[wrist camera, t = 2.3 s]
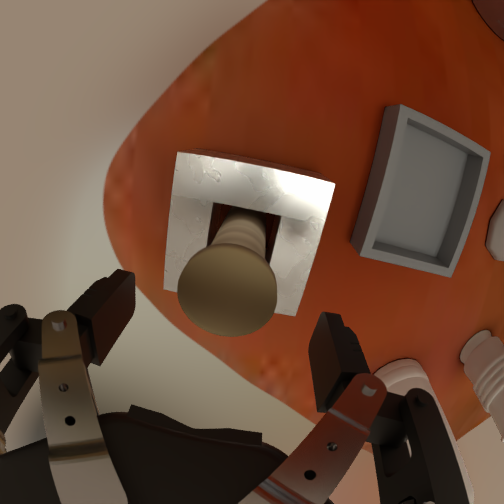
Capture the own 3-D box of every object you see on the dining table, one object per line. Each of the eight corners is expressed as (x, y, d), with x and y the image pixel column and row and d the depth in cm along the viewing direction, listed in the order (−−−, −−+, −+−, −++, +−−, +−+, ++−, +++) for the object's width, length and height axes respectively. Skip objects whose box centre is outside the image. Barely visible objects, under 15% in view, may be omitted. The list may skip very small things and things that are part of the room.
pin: (224, 187, 22) (181, 240, 11) (279, 199, 22) (288, 262, 11) (216, 238, 24) (174, 325, 13) (267, 249, 24) (264, 343, 13)
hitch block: (196, 148, 21) (177, 151, 17) (321, 173, 21) (335, 183, 17) (181, 261, 25) (163, 289, 20) (290, 283, 25) (295, 316, 21)
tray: (385, 107, 19) (400, 104, 16) (471, 148, 19) (490, 152, 16) (349, 241, 23) (359, 255, 21) (436, 263, 24) (450, 277, 21)
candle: (451, 353, 28) (499, 438, 15) (488, 318, 26) (547, 394, 12) (462, 372, 30) (502, 446, 16) (496, 341, 28) (544, 410, 14)
